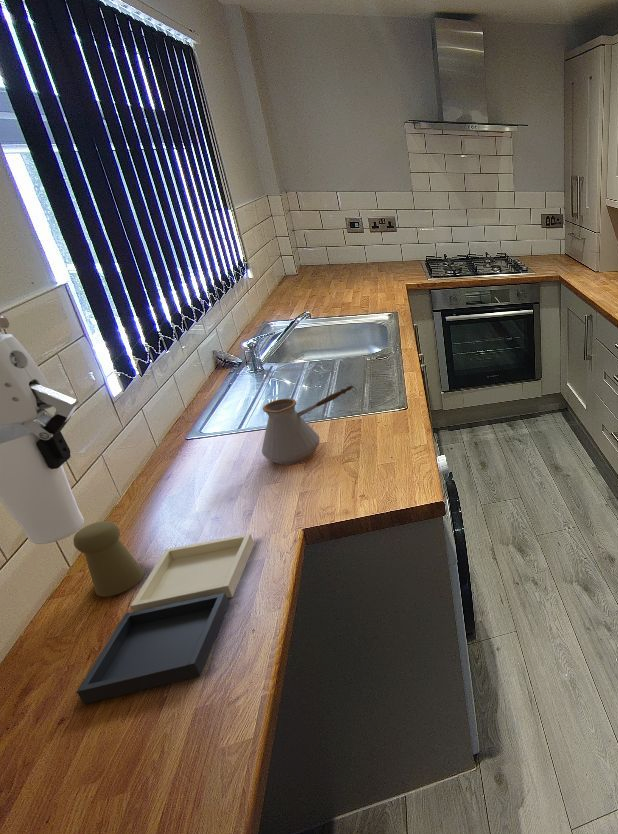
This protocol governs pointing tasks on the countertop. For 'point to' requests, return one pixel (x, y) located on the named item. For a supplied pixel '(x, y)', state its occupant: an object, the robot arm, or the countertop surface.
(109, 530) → the cork
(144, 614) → the charcoal tray
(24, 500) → the drinking glass
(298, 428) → the coffee pot
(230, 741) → the countertop surface
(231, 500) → the countertop surface
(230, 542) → the cream tray
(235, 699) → the countertop surface
